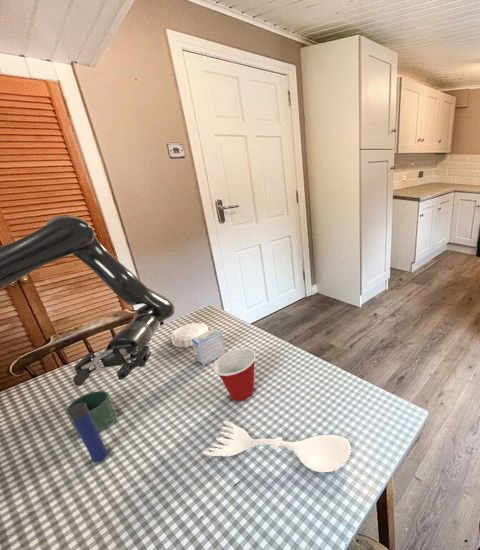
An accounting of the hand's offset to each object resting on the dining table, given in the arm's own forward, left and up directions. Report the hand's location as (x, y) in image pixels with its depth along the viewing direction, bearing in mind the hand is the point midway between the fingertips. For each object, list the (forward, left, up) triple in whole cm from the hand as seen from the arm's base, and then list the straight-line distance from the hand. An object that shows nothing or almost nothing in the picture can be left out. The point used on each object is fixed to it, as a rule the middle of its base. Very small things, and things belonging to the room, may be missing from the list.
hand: (98, 379), depth 69 cm
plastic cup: (+28, +5, -15) cm, 32 cm away
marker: (0, -8, -15) cm, 17 cm away
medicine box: (+16, +25, -15) cm, 33 cm away
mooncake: (+6, +39, -15) cm, 42 cm away
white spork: (+39, -17, -15) cm, 45 cm away
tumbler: (-6, +3, -15) cm, 16 cm away
